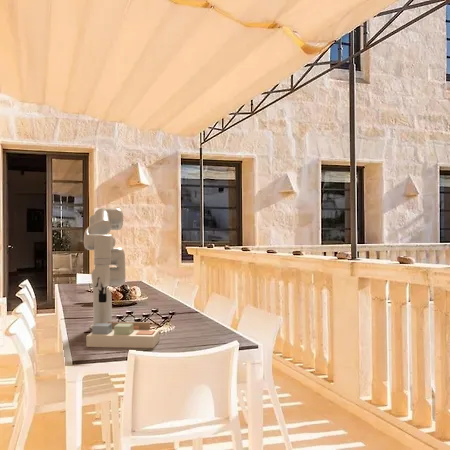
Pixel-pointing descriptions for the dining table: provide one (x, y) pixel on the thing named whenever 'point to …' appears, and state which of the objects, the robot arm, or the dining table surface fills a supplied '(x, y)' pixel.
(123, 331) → the key sage
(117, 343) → the keypad
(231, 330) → the dining table surface
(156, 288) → the dining table surface
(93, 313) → the robot arm
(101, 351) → the dining table surface
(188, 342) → the dining table surface
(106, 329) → the key slate
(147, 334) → the key terracotta
